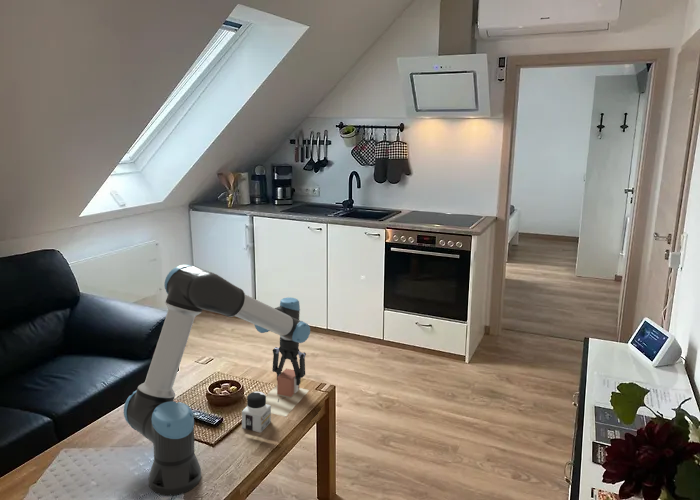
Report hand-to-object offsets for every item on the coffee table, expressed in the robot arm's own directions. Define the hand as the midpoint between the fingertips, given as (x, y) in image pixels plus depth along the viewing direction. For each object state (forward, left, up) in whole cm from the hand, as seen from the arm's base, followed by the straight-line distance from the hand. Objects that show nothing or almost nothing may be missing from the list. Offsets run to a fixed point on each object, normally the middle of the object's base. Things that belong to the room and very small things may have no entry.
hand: (288, 389), depth 216 cm
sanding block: (0, 0, -1) cm, 1 cm away
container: (-19, +17, -2) cm, 26 cm away
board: (-4, +4, -2) cm, 6 cm away
